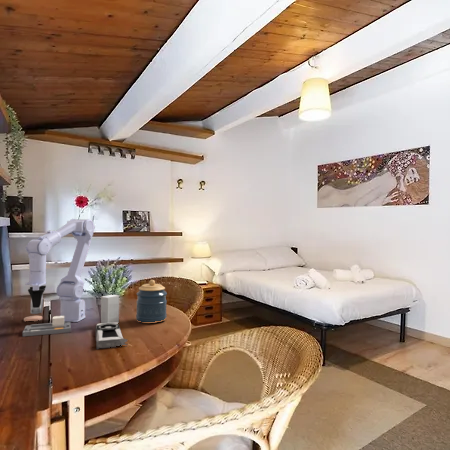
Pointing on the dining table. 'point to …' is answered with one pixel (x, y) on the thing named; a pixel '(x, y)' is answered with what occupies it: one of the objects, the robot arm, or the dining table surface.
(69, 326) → the switch panel
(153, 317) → the canister
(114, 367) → the dining table surface
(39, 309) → the clear grey cup
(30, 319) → the coaster
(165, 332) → the dining table surface
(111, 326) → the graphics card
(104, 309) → the skincare box
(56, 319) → the switch tab
